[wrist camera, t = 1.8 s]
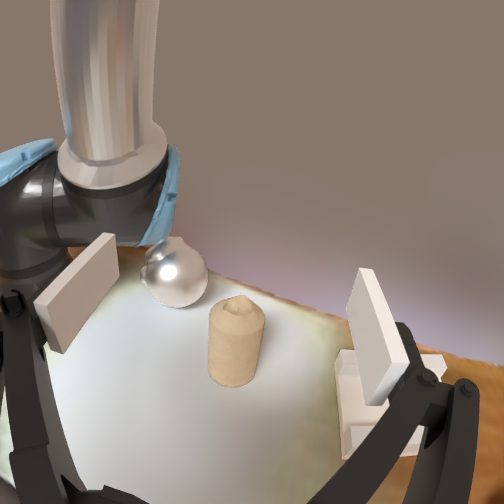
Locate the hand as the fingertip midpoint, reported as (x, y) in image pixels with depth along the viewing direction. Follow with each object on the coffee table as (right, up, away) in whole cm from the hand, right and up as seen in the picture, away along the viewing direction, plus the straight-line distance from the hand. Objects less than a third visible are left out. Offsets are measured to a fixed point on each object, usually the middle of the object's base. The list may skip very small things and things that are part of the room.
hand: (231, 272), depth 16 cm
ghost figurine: (-10, -6, +29) cm, 31 cm away
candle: (-1, -13, +19) cm, 23 cm away
